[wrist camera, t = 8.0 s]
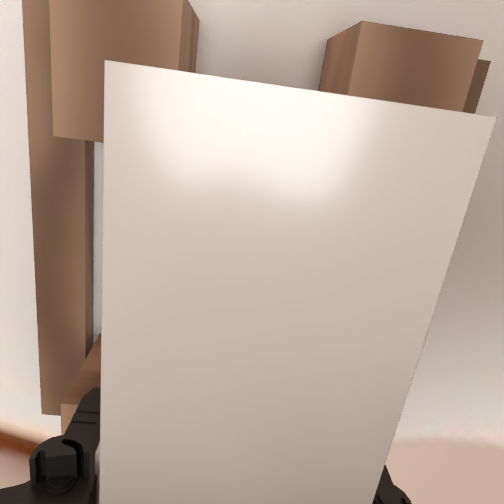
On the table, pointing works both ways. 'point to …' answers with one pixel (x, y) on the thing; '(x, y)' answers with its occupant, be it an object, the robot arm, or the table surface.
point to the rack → (92, 129)
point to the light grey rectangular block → (267, 282)
